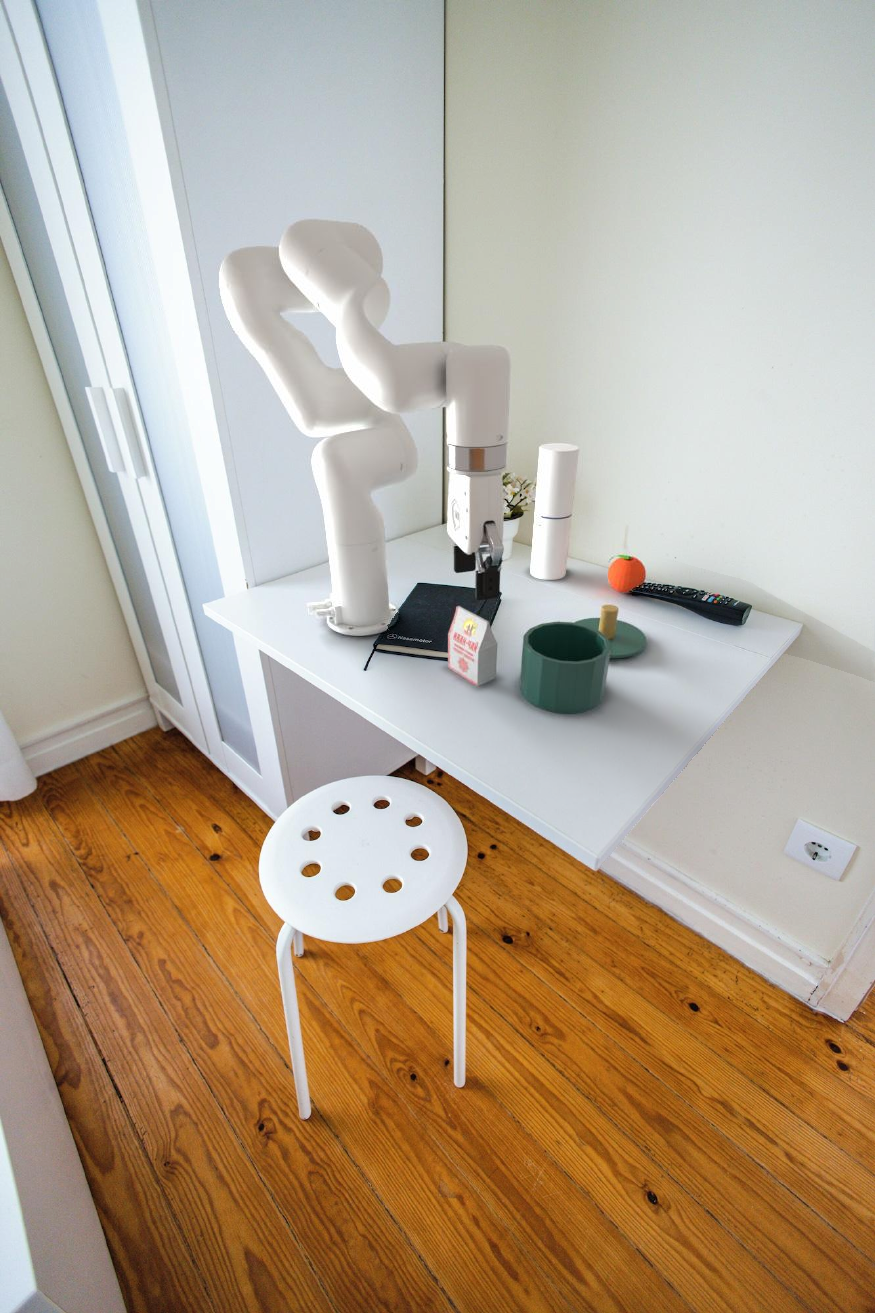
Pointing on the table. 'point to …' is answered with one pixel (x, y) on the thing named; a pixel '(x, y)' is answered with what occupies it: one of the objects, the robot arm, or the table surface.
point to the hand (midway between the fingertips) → (475, 584)
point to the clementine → (626, 573)
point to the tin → (564, 667)
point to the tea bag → (472, 647)
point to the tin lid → (617, 632)
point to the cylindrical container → (553, 509)
